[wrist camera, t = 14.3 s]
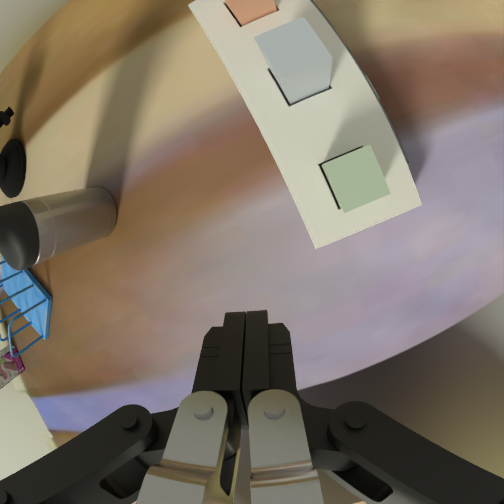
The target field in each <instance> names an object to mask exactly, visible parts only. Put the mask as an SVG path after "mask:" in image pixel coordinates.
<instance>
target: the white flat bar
mask: <svg viewBox="0 0 504 504" xmlns="http://www.w3.org/2000/svg"><path fill="white" fill-rule="evenodd" d="M274 2H275V5H276V9H277V11H276V12H274V13H271V14H269V15H267V16H264V17H262V18H260V19H257V20H255V21H253V22H251V23H249V24H246V25H244V26H242V27H241V25H240V24H239V22H238V21H237V19H236V18H235V16H234V15H233V13H232V12H231V10H230V9H229V7H228V6H227V4H226V3H225V1H224V0H196V1H194V2H192V3H190V4H189V5H188V6H189V8H190V9H191V11H192V12H193V14H194V16H195V17H196V19H197V20H198V22H199V24H200V25H201V27H202V28H203V30H204V32H205V33H206V35H207V36H208V38H209V40H210V41H211V43H212V45H213V46H214V48H215V50H216V51H217V53H218V55H219V57H220V58H221V60H222V62H223V63H224V65H225V67H226V69H227V70H228V72H229V74H230V76H231V77H232V79H233V81H234V83H235V85H236V86H237V88H238V90H239V92H240V94H241V95H242V97H243V99H244V101H245V103H246V105H247V107H248V108H249V110H250V112H251V114H252V116H253V118H254V120H255V122H256V124H257V125H258V127H259V129H260V131H261V133H262V135H263V137H264V139H265V141H266V143H267V145H268V147H269V149H270V151H271V153H272V155H273V157H274V159H275V161H276V163H277V165H278V167H279V169H280V171H281V174H282V176H283V178H284V180H285V182H286V184H287V186H288V188H289V190H290V193H291V195H292V197H293V199H294V201H295V203H296V206H297V208H298V210H299V212H300V214H301V217H302V219H303V221H304V223H305V226H306V228H307V230H308V232H309V235H310V237H311V239H312V242H313V244H314V246H315V249H317V248H320V247H322V246H325V245H327V244H330V243H332V242H335V241H337V240H339V239H342V238H344V237H347V236H349V235H352V234H354V233H356V232H359V231H361V230H364V229H366V228H368V227H371V226H373V225H376V224H378V223H380V222H383V221H385V220H388V219H390V218H392V217H395V216H397V215H399V214H402V213H404V212H406V211H409V210H411V209H413V208H416V207H418V206H420V205H422V203H421V200H420V197H419V195H418V192H417V189H416V186H415V183H414V181H413V178H412V175H411V173H410V170H409V168H408V165H407V163H409V162H408V160H407V157H406V155H405V152H404V150H403V148H402V145H401V143H400V141H399V139H398V136H397V134H396V132H395V130H394V128H393V126H392V124H391V122H390V119H389V117H388V115H387V113H386V111H385V110H384V108H383V106H382V104H381V102H380V100H379V96H378V94H377V92H376V91H375V89H374V87H373V85H372V84H371V82H370V80H369V78H368V77H367V75H365V74H364V72H363V70H362V69H361V67H360V65H359V64H358V62H357V61H356V59H355V57H354V56H353V54H352V53H351V51H350V50H349V48H348V47H347V44H346V42H345V41H344V39H343V38H342V37H341V35H340V34H339V32H338V31H337V30H336V28H335V27H334V26H332V24H331V23H330V22H329V20H328V19H327V18H326V17H325V15H324V14H323V13H322V11H321V10H320V9H319V8H318V7H317V5H316V4H315V3H314V2H313V1H312V0H274ZM302 17H304V18H305V19H306V20H307V22H308V23H309V24H310V26H311V27H312V28H313V30H314V31H315V33H316V34H317V35H318V37H319V38H320V40H321V41H322V43H323V44H324V45H325V47H326V48H327V50H328V51H329V53H330V54H331V56H332V67H331V76H330V84H329V90H326V91H324V92H321V93H319V94H316V95H314V96H311V97H309V98H307V99H304V100H302V101H300V102H297V103H295V104H293V105H290V103H289V101H288V100H287V98H286V96H285V94H284V92H283V91H282V89H281V87H280V85H279V84H278V82H277V80H276V79H275V77H274V75H273V74H272V72H271V70H270V68H269V66H268V64H267V62H266V60H265V58H264V56H263V54H262V52H261V51H260V49H259V47H258V45H257V43H256V41H255V39H254V37H256V36H258V35H260V34H262V33H265V32H267V31H269V30H271V29H274V28H276V27H279V26H281V25H284V24H286V23H289V22H291V21H294V20H296V19H299V18H302ZM367 145H371V148H372V150H373V152H374V154H375V157H376V159H377V161H378V163H379V166H380V168H381V170H382V173H383V175H384V178H385V180H386V183H387V185H388V188H389V190H390V193H391V194H389V195H387V196H384V197H382V198H379V199H377V200H375V201H372V202H370V203H367V204H365V205H363V206H360V207H358V208H356V209H353V210H351V211H348V212H346V213H344V212H343V211H342V209H341V208H340V206H339V205H338V203H337V201H336V199H335V197H334V194H333V192H332V190H331V188H330V185H329V183H328V181H327V179H326V176H325V174H324V172H323V170H322V168H321V166H322V164H324V163H326V162H329V161H331V160H333V159H336V158H338V157H341V156H343V155H345V154H348V153H350V152H353V151H355V150H358V149H360V148H362V147H365V146H367Z"/></svg>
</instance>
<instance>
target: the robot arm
mask: <svg viewBox="0 0 504 504" xmlns="http://www.w3.org/2000/svg"><path fill="white" fill-rule="evenodd" d="M116 216H117V214H116V206H115V203H114V200H113V198H112V196H111V195H110V194H109V192H108V191H106V190H105V189H104V188H101V187H93V188H87V189H80V190H74V191H69V192H63V193H57V194H52V195H47V196H42V197H37V198H33V199H28V200H23V201H19V202H15V203H11V204H7V205H4V206H0V252H1V254H2V256H3V258H4V259H5V261H6V262H7V264H8V265H9V266H10V267H11V268H13V269H14V270H18V271H20V270H24V269H27V268H29V267H31V266H34V265H36V264H38V263H41V262H43V261H45V260H48V259H50V258H52V257H55V256H57V255H60V254H62V253H64V252H67V251H69V250H72V249H74V248H77V247H79V246H82V245H85V244H87V243H90V242H92V241H95V240H98V239H100V238H103V237H105V236H108V235H109V234H110V233H111V232H112V230H113V229H114V226H115V223H116ZM241 430H249V436H250V453H251V469H252V473H251V479H250V486H251V503H252V504H324V502H323V498H322V492H321V487H320V483H319V478H318V475H317V472H316V469H315V468H317V469H322V470H323V471H324V472H325V473H326V474H328V475H329V476H330V477H332V478H333V479H334V480H335V481H337V482H338V483H339V484H341V485H342V486H343V487H345V488H346V489H348V490H349V491H350V492H352V493H353V494H354V495H356V496H357V497H359V498H360V499H362V500H363V501H364V502H366V503H368V504H504V479H503V478H501V477H499V476H497V475H495V474H493V473H491V472H488V471H486V470H484V469H482V468H480V467H478V466H476V465H474V464H472V463H470V462H468V461H466V460H464V459H462V458H461V457H458V456H457V455H455V454H453V453H451V452H449V451H447V450H446V449H444V448H442V447H440V446H438V445H436V444H435V443H433V442H431V441H429V440H428V439H426V438H424V437H422V436H421V435H419V434H417V433H416V432H414V431H412V430H410V429H408V428H407V427H405V426H404V425H402V424H400V423H399V422H397V421H395V420H394V419H392V418H391V417H389V416H387V415H386V414H384V413H382V412H381V411H379V410H378V409H376V408H375V407H373V406H371V405H370V404H368V403H365V402H360V401H353V402H347V403H344V404H342V405H340V406H339V407H337V408H336V409H335V410H334V409H327V408H319V407H315V406H312V405H310V404H308V403H306V402H305V401H304V400H303V399H302V398H301V397H300V396H299V394H298V392H297V388H296V380H295V371H294V363H293V354H292V346H291V338H290V332H289V330H288V329H287V328H286V327H285V325H284V324H283V323H275V324H268V314H267V310H261V311H247V314H246V312H228V313H225V318H224V324H223V327H212V328H211V329H210V330H209V331H208V333H207V334H206V335H205V336H204V340H203V344H202V349H201V353H200V358H199V362H198V366H197V371H196V375H195V380H194V385H193V389H192V393H191V394H190V395H188V396H187V397H186V398H185V399H184V400H183V401H182V402H181V404H180V406H179V407H177V408H175V409H172V410H169V411H163V412H158V413H152V414H150V412H149V411H148V410H147V409H146V408H144V407H142V406H140V405H134V404H131V405H126V406H123V407H121V408H119V409H117V410H116V411H114V412H113V413H111V414H110V415H108V416H107V417H105V418H104V419H102V420H101V421H99V422H98V423H96V424H95V425H93V426H92V427H90V428H89V429H87V430H86V431H84V432H82V433H81V434H79V435H78V436H76V437H75V438H73V439H71V440H70V441H68V442H67V443H65V444H63V445H62V446H60V447H58V448H57V449H55V450H54V451H52V452H50V453H49V454H47V455H45V456H43V457H42V458H40V459H38V460H37V461H35V462H33V463H32V464H30V465H28V466H26V467H25V468H23V469H21V470H19V471H17V472H16V473H14V474H12V475H10V476H8V477H7V478H5V479H3V480H1V481H0V504H132V503H133V502H135V501H136V500H137V502H136V504H234V503H233V494H234V488H235V482H236V475H237V469H238V462H239V455H240V437H241Z"/></svg>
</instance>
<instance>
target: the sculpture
mask: <svg viewBox="0 0 504 504" xmlns="http://www.w3.org/2000/svg"><path fill="white" fill-rule="evenodd" d="M13 115H14V112H13V111H12V109H11V108H10V107H8V108H7V110H6V111H5V112H3V111H0V127H1V126H2V125H3V124H4V125H6V126H7V125H8V124H9V123H10V121H11V120H10V117H11V116H13ZM25 173H26V156H25V151H24V147H23V145H22V143H21V142H20V141H19V140H18V139H11V140H9V141H8V142H7V144H6V145H5V146H4V147H3V149H2V151H1V153H0V188H1V190H2V191H3V193H4V194H5V195H6V196H7V197H9V198H13V197H16V196H17V195H19V193H20V192H21V190H22V187H23V184H24V180H25Z"/></svg>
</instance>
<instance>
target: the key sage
mask: <svg viewBox="0 0 504 504" xmlns="http://www.w3.org/2000/svg"><path fill="white" fill-rule="evenodd" d="M321 168H322V170H323V172H324V174H325V176H326V179H327V181H328V183H329V185H330V188H331V190H332V192H333V194H334V197H335V199H336V201H337V203H338V205H339V206H340V208H341V209H342V211H343V212H344V213H346V212H348V211H351V210H353V209H356V208H358V207H360V206H363V205H365V204H367V203H370V202H372V201H375V200H377V199H379V198H382V197H384V196H387V195H389V194H391V193H390V190H389V188H388V185H387V183H386V180H385V178H384V175H383V173H382V170H381V168H380V166H379V163H378V161H377V159H376V157H375V154H374V152H373V150H372V148H371V145H367V146H365V147H362V148H360V149H358V150H355V151H353V152H350V153H348V154H345V155H343V156H341V157H338V158H336V159H333V160H331V161H329V162H326V163H324V164H322V166H321Z"/></svg>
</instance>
